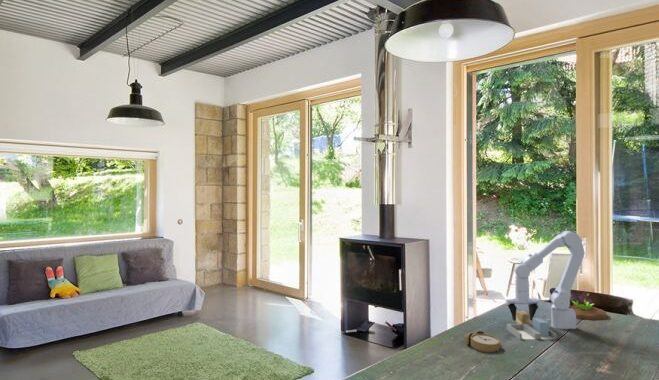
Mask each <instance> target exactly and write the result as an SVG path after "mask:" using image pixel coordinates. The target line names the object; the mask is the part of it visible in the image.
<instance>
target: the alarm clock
mask: <svg viewBox="0 0 659 380" xmlns="http://www.w3.org/2000/svg"><path fill="white" fill-rule="evenodd" d="M463 338H464V341H465V344H466V345H468V346H469V345H470V346H471V348H473V349H474V350H476V351H480V352H484V353H485V352H486V353H492V352H498V351H499V350H500V349H501V347H502V348H504V345H502V344H501V339H499V337H497V336H494V335H492V334H488V333H485V332H483V331H482V330H477V331H475V332H467V333H465V334H464V336H463Z"/></svg>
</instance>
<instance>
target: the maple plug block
mask: <svg viewBox="0 0 659 380" xmlns="http://www.w3.org/2000/svg"><path fill="white" fill-rule="evenodd" d="M515 322H516V324H531V320H530V315H529V312H526V311H525V310H516V321H515Z"/></svg>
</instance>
